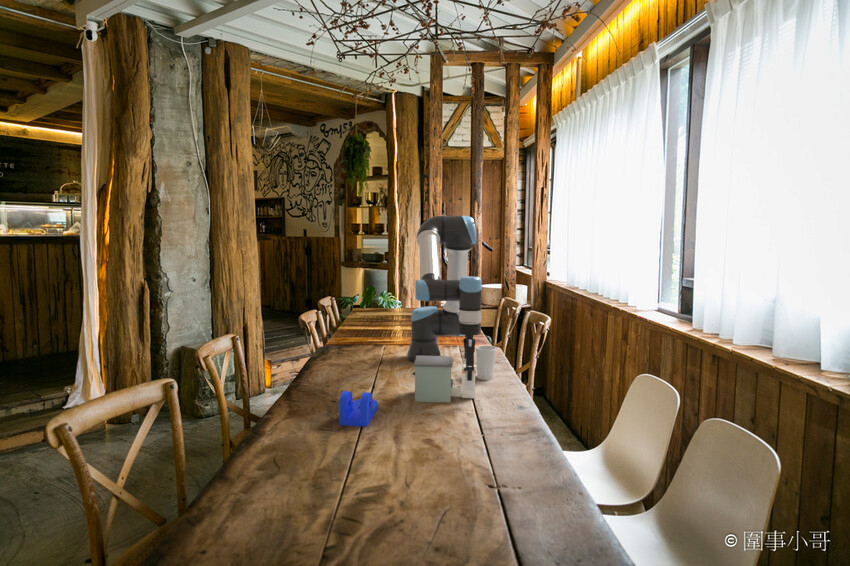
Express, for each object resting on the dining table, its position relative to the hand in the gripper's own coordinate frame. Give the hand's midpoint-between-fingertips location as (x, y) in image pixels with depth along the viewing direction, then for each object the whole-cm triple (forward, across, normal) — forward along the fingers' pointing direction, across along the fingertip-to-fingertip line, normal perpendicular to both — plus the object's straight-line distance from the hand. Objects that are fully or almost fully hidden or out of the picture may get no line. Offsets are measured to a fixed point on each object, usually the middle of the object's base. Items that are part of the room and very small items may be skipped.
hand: (468, 383), depth 164 cm
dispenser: (+5, 0, -12) cm, 13 cm away
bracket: (+6, +18, -34) cm, 39 cm away
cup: (+5, -24, +8) cm, 26 cm away
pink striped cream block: (+5, 0, -5) cm, 7 cm away
